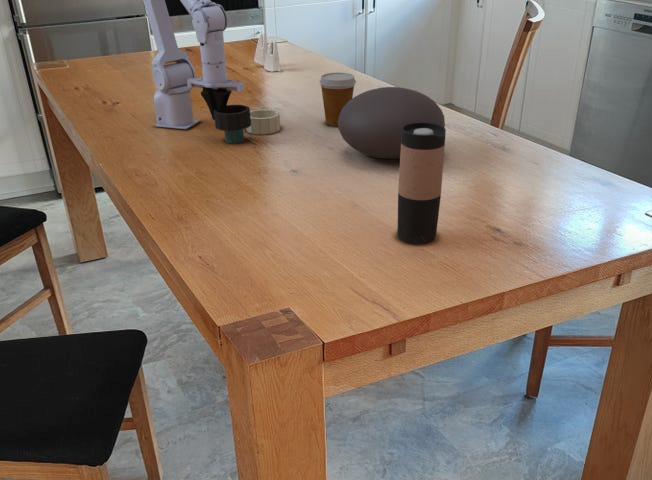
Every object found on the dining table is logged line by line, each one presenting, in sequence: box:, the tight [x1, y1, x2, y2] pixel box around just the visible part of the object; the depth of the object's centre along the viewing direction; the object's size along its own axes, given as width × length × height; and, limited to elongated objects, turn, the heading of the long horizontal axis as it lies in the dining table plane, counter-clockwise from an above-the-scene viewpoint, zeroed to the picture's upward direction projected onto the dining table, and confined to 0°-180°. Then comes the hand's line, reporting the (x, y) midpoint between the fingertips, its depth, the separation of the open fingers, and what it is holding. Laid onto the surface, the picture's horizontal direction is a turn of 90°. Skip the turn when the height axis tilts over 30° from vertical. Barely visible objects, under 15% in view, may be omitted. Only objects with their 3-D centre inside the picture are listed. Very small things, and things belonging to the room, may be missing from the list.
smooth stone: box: [337, 86, 446, 160], centre depth 168 cm, size 25×25×15 cm
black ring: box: [214, 104, 251, 132], centre depth 179 cm, size 9×9×4 cm
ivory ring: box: [245, 108, 281, 135], centre depth 188 cm, size 9×9×4 cm
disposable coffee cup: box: [319, 72, 357, 127], centre depth 190 cm, size 10×10×12 cm
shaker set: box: [253, 32, 282, 72], centre depth 243 cm, size 12×4×11 cm, turn 34°
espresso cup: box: [224, 129, 245, 145], centre depth 180 cm, size 5×5×6 cm
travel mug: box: [397, 122, 447, 246], centre depth 128 cm, size 8×8×20 cm
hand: (218, 119), depth 180 cm, fingers closed on black ring
